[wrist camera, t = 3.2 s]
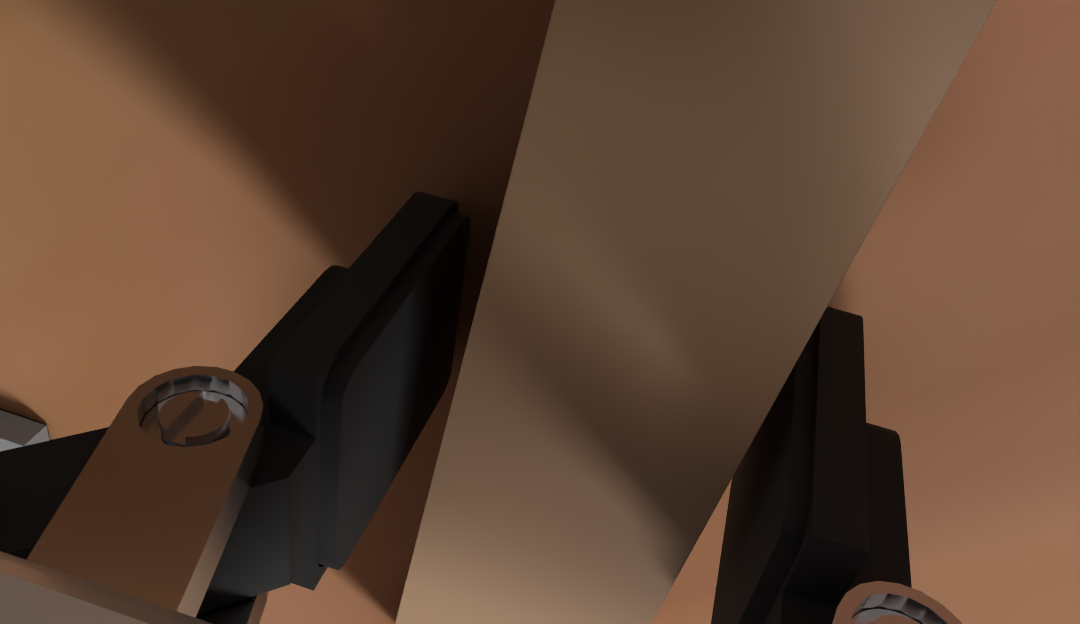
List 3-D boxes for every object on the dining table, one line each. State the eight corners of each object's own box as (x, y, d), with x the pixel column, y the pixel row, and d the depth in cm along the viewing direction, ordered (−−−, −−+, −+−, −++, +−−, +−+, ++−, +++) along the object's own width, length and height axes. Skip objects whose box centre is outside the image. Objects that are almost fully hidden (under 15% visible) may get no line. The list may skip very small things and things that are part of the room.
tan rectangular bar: (782, -577, 8) (744, -735, 5) (1138, -474, 7) (1317, -579, 5) (425, 631, 18) (349, 800, 16) (565, 689, 18) (514, 870, 15)
